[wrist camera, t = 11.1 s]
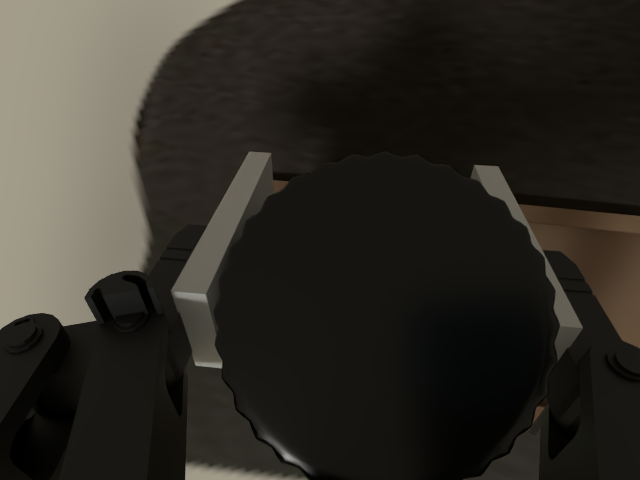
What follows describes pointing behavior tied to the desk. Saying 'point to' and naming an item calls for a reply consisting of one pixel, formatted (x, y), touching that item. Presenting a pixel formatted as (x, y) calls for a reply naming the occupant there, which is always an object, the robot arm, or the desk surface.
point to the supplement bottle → (386, 322)
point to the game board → (592, 258)
